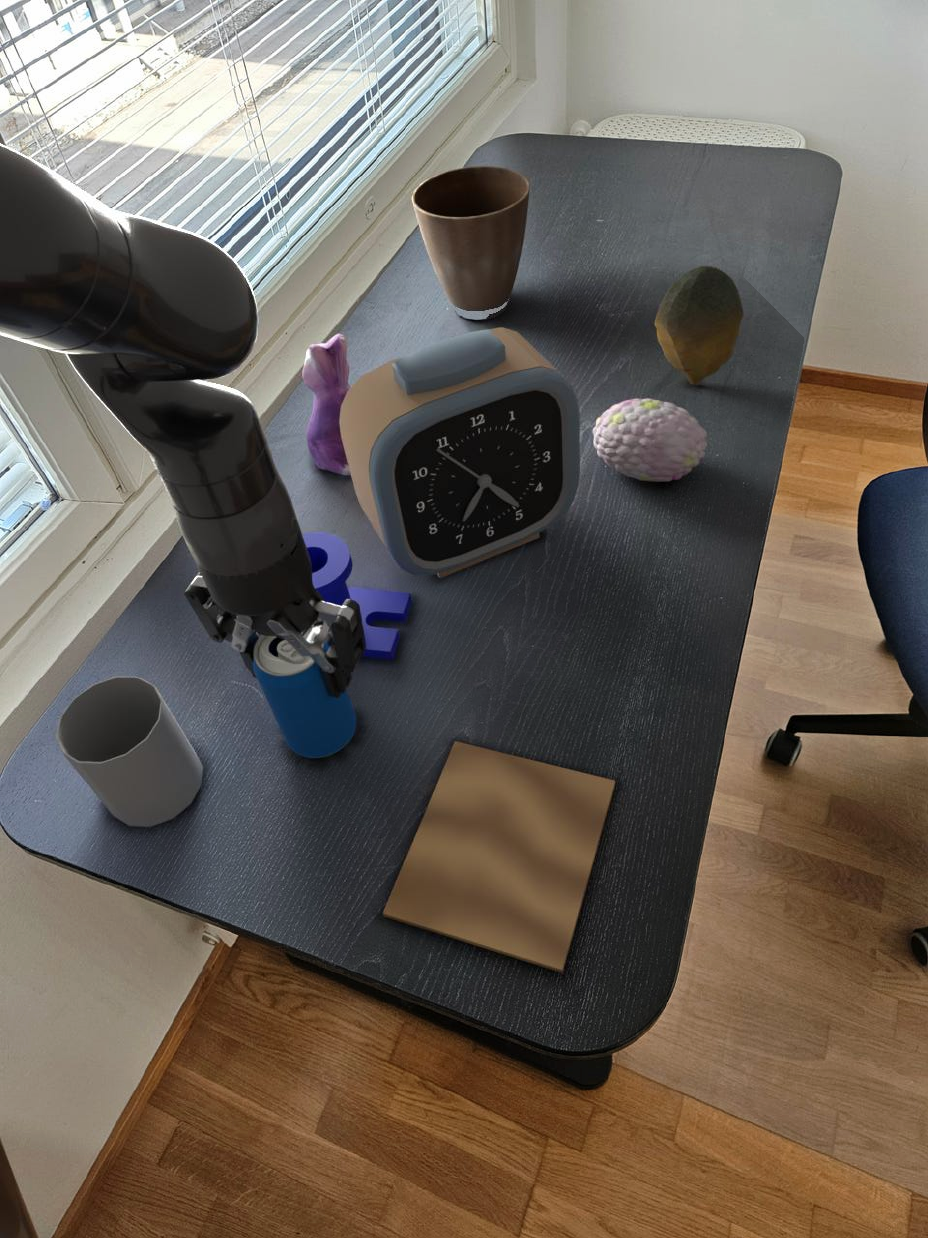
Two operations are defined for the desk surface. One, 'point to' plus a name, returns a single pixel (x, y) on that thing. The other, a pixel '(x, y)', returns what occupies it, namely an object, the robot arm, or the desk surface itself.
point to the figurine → (327, 402)
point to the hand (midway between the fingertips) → (301, 679)
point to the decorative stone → (699, 322)
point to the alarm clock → (462, 449)
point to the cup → (130, 750)
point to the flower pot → (474, 232)
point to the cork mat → (504, 855)
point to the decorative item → (649, 440)
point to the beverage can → (302, 699)
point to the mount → (356, 593)
